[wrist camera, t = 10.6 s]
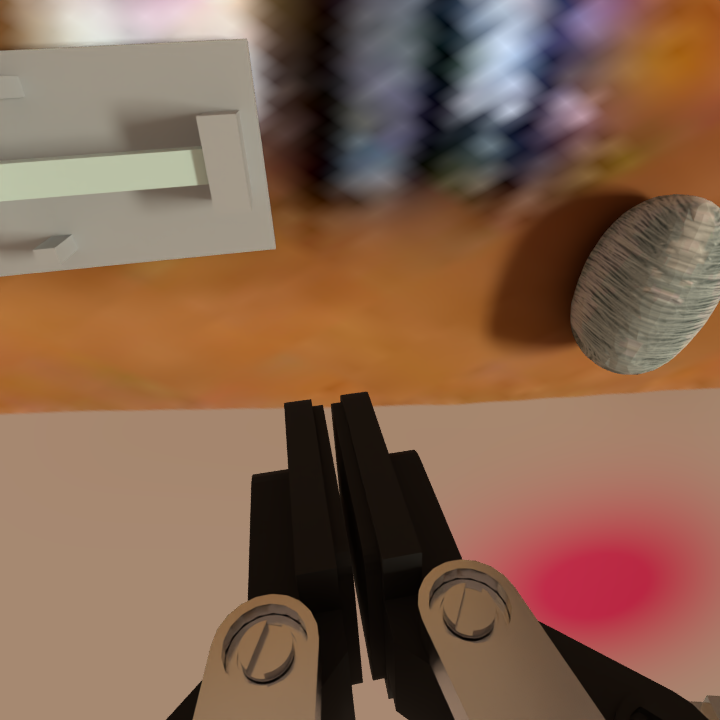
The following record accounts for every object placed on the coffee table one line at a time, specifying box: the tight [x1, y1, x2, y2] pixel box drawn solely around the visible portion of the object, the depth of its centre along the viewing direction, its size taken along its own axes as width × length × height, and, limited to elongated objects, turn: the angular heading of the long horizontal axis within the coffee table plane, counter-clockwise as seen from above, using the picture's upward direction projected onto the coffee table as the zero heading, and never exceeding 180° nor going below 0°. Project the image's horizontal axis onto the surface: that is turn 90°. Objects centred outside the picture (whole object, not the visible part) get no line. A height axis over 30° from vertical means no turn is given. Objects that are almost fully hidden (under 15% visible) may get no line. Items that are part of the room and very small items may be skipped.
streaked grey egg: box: [570, 194, 720, 374], centre depth 37 cm, size 14×10×10 cm
